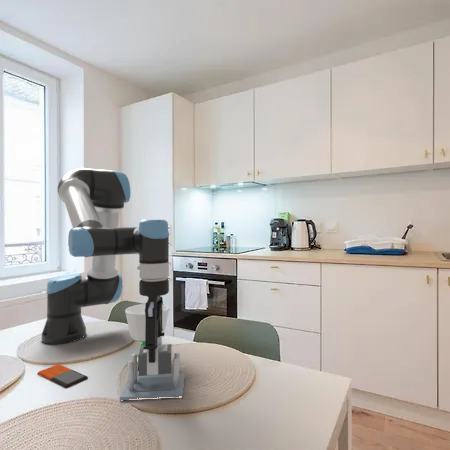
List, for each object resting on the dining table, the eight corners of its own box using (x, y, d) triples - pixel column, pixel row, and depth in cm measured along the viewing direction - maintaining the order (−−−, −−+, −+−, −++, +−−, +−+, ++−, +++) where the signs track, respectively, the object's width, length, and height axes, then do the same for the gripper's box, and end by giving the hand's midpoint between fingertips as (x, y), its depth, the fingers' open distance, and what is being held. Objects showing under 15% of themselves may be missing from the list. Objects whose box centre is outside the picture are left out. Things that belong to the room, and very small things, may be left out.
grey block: (140, 365, 83) (139, 344, 83) (171, 363, 85) (171, 342, 85) (137, 376, 78) (137, 354, 78) (171, 373, 79) (171, 351, 79)
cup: (155, 370, 91) (154, 316, 91) (115, 364, 95) (115, 312, 95) (177, 352, 104) (176, 304, 104) (141, 347, 108) (141, 301, 108)
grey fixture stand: (130, 379, 86) (130, 349, 86) (184, 376, 87) (184, 348, 87) (119, 401, 75) (119, 368, 75) (182, 398, 76) (182, 365, 76)
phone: (59, 362, 95) (88, 375, 87) (59, 367, 95) (88, 380, 87) (36, 371, 89) (66, 385, 81) (36, 375, 89) (66, 390, 81)
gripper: (146, 273, 91) (146, 353, 90) (131, 286, 71) (131, 387, 71) (172, 273, 91) (172, 352, 91) (164, 285, 72) (165, 385, 72)
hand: (154, 367), depth 81 cm, fingers closed on grey block, 6 cm apart
